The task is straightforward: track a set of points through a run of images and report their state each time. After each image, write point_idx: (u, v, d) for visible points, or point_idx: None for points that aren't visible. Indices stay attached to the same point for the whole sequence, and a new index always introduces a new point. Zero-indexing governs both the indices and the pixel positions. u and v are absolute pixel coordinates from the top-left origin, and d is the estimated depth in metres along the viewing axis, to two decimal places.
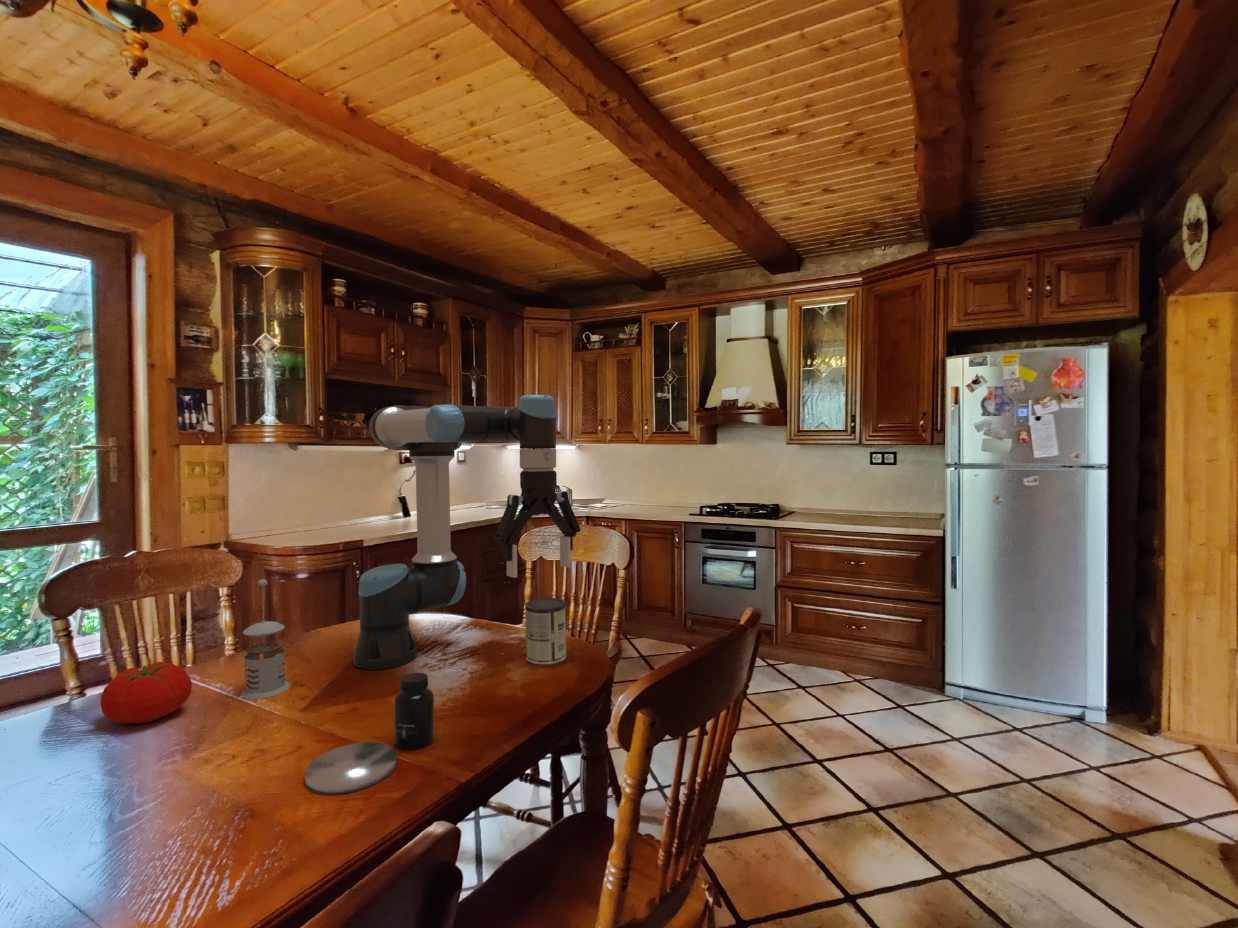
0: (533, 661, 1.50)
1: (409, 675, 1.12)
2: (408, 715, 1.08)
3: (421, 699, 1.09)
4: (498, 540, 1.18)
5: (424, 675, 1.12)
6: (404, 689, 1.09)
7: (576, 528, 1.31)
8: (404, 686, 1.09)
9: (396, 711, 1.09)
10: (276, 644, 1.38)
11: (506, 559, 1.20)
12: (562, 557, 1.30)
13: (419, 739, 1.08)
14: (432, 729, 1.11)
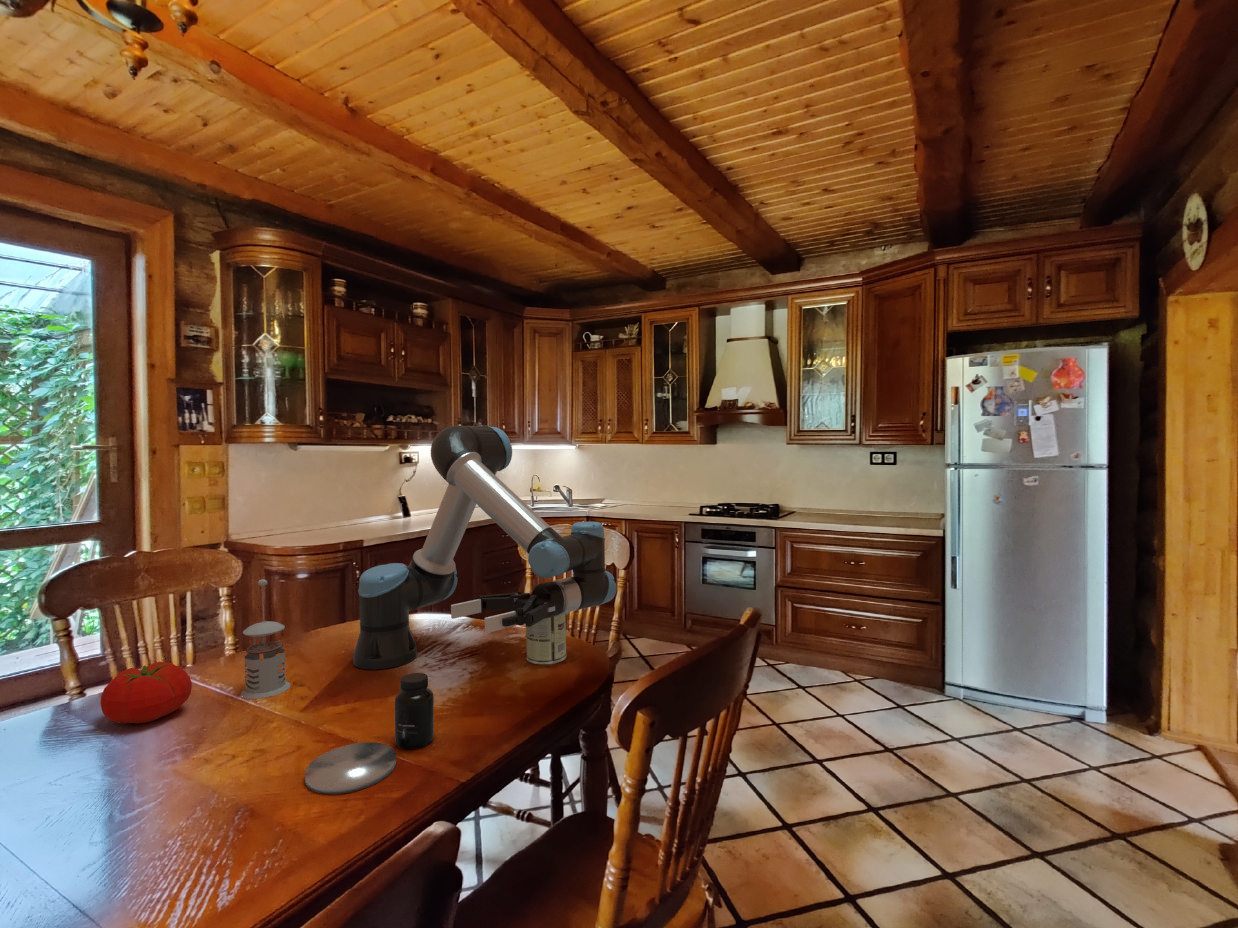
0: (533, 661, 1.50)
1: (409, 675, 1.12)
2: (408, 715, 1.08)
3: (421, 699, 1.09)
4: (529, 622, 1.16)
5: (424, 675, 1.12)
6: (404, 689, 1.09)
7: None
8: (404, 686, 1.09)
9: (396, 711, 1.09)
10: (276, 644, 1.38)
11: (506, 624, 1.15)
12: (461, 607, 1.24)
13: (419, 739, 1.08)
14: (432, 729, 1.11)
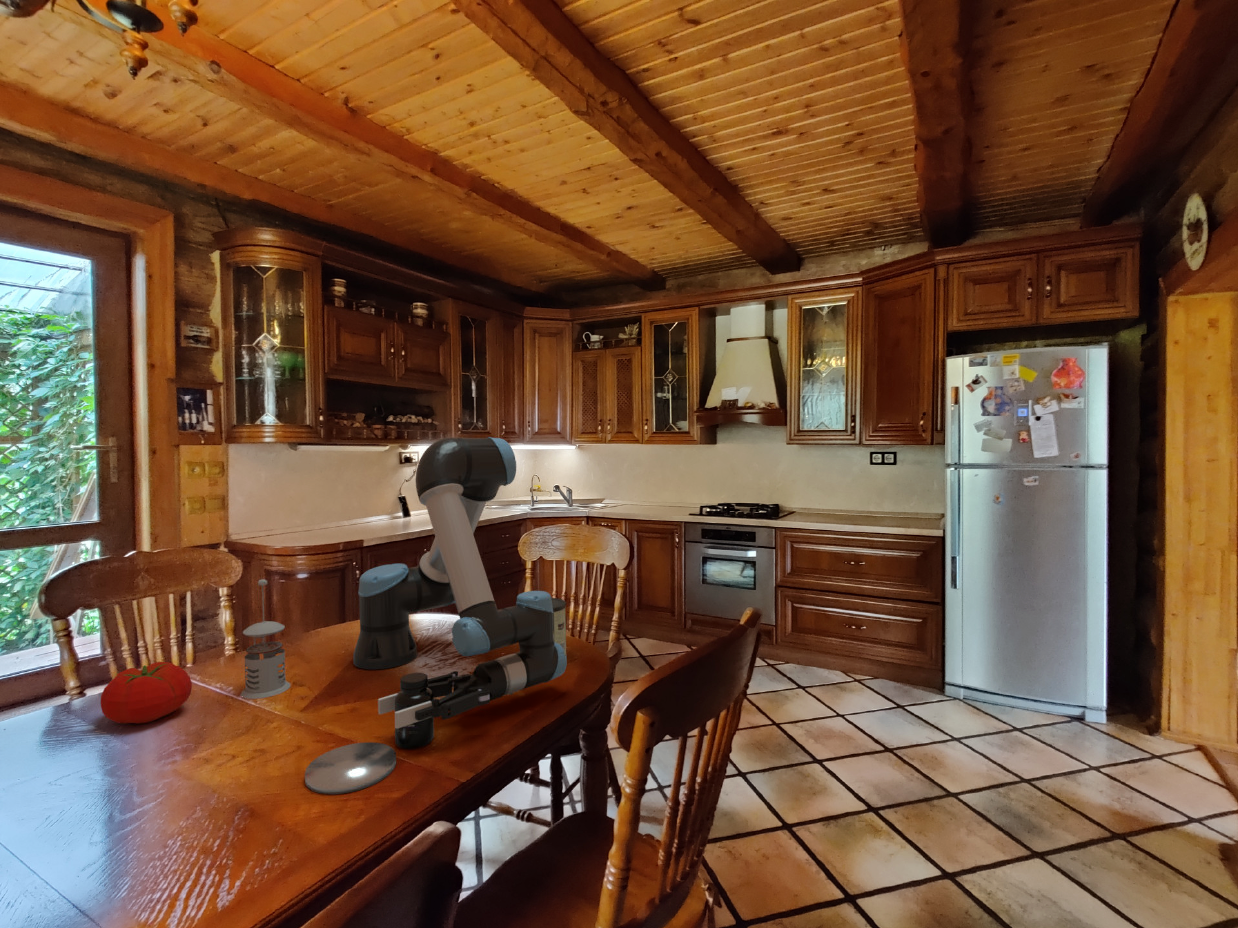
0: None
1: (409, 675, 1.12)
2: None
3: (421, 698, 1.09)
4: (444, 715, 1.08)
5: (424, 675, 1.12)
6: (404, 689, 1.09)
7: None
8: (404, 686, 1.09)
9: (396, 711, 1.09)
10: (276, 644, 1.38)
11: (419, 718, 1.06)
12: (390, 701, 1.11)
13: (419, 739, 1.08)
14: (432, 729, 1.11)
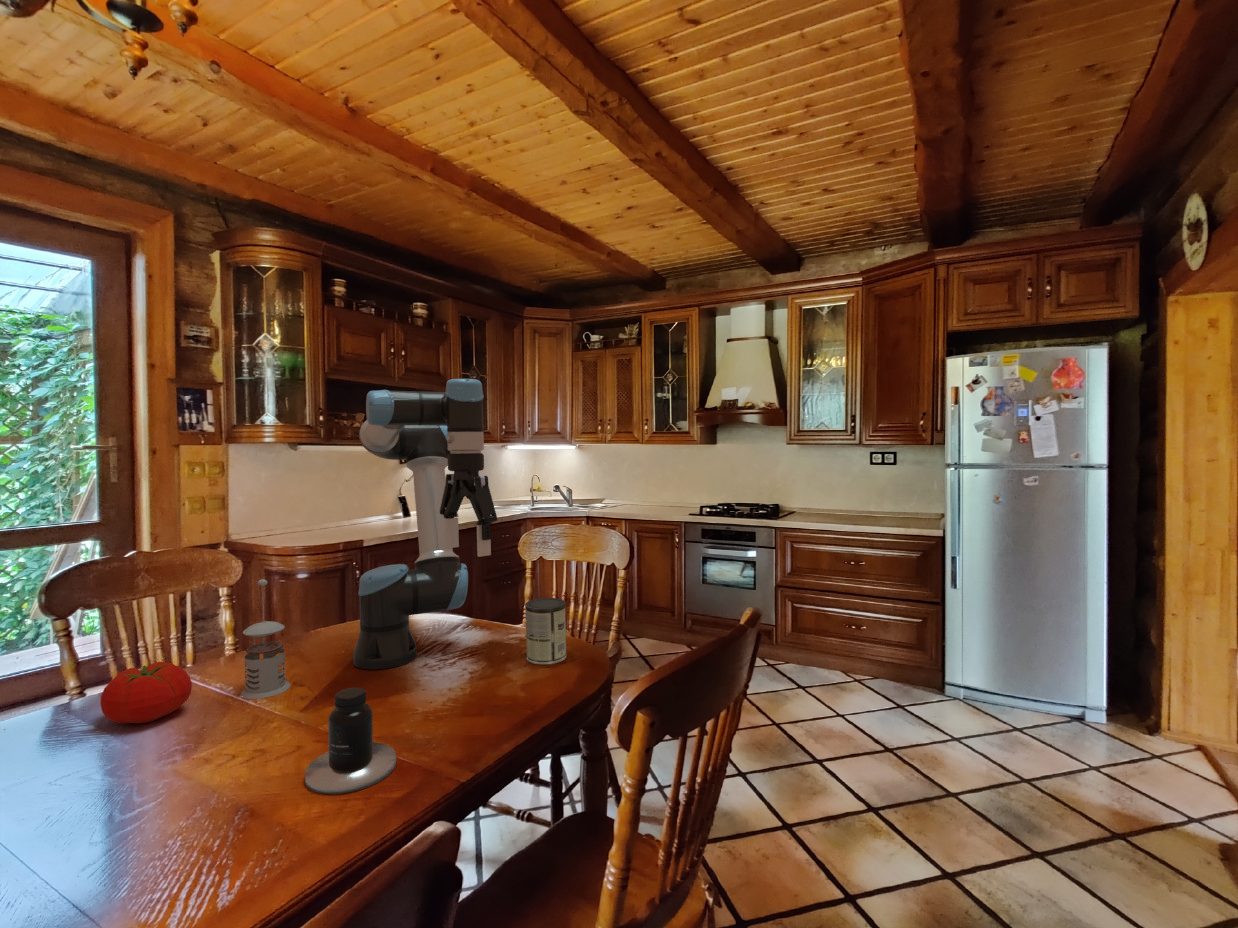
0: (533, 661, 1.50)
1: (345, 690, 1.02)
2: (341, 734, 0.98)
3: (357, 716, 0.99)
4: None
5: (362, 690, 1.02)
6: (338, 706, 0.99)
7: (483, 517, 1.21)
8: (338, 703, 0.99)
9: (329, 730, 0.99)
10: (276, 644, 1.38)
11: None
12: None
13: (354, 761, 0.99)
14: (370, 749, 1.01)
